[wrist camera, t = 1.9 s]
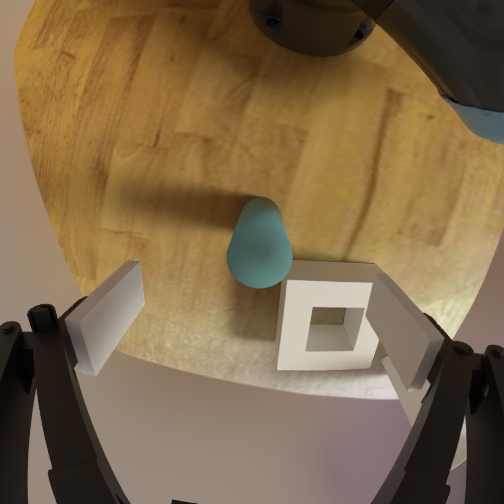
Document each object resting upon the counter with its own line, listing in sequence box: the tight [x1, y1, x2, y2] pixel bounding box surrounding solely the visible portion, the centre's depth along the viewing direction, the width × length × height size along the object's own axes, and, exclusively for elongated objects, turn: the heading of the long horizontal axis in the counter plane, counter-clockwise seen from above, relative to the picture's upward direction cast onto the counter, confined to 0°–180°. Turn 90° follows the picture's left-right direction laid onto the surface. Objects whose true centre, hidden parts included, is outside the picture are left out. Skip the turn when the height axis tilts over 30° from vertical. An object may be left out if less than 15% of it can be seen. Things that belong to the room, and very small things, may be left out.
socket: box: [275, 260, 385, 370], centre depth 34 cm, size 12×12×6 cm
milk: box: [381, 355, 467, 471], centre depth 29 cm, size 6×6×22 cm
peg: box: [227, 197, 293, 288], centre depth 27 cm, size 4×4×14 cm
